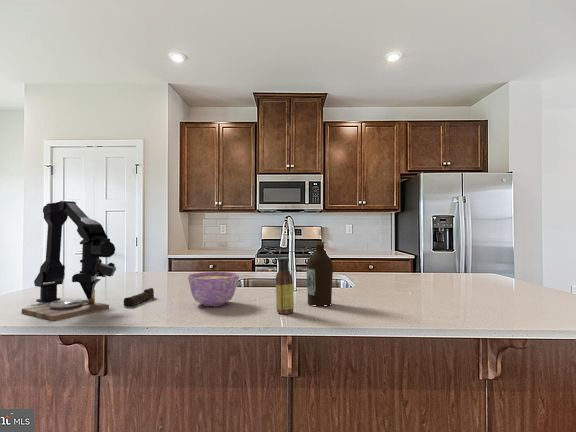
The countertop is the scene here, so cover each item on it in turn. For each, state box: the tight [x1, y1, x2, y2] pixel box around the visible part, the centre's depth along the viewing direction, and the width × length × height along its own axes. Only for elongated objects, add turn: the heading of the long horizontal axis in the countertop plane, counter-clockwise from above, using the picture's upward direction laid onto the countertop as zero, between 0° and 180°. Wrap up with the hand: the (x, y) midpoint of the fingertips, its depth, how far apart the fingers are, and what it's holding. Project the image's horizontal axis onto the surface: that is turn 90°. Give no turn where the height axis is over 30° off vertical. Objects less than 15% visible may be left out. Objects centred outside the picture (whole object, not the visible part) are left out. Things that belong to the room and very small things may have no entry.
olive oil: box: [305, 241, 334, 306], centre depth 146 cm, size 11×11×25 cm
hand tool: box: [123, 287, 155, 308], centre depth 148 cm, size 19×4×5 cm, turn 169°
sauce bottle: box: [275, 257, 294, 315], centre depth 132 cm, size 6×6×20 cm
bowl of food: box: [187, 271, 240, 307], centre depth 145 cm, size 20×20×12 cm
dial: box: [49, 288, 96, 309], centre depth 134 cm, size 14×10×5 cm
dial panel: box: [21, 298, 110, 322], centre depth 132 cm, size 20×20×2 cm
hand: (89, 299), depth 135 cm, fingers closed
